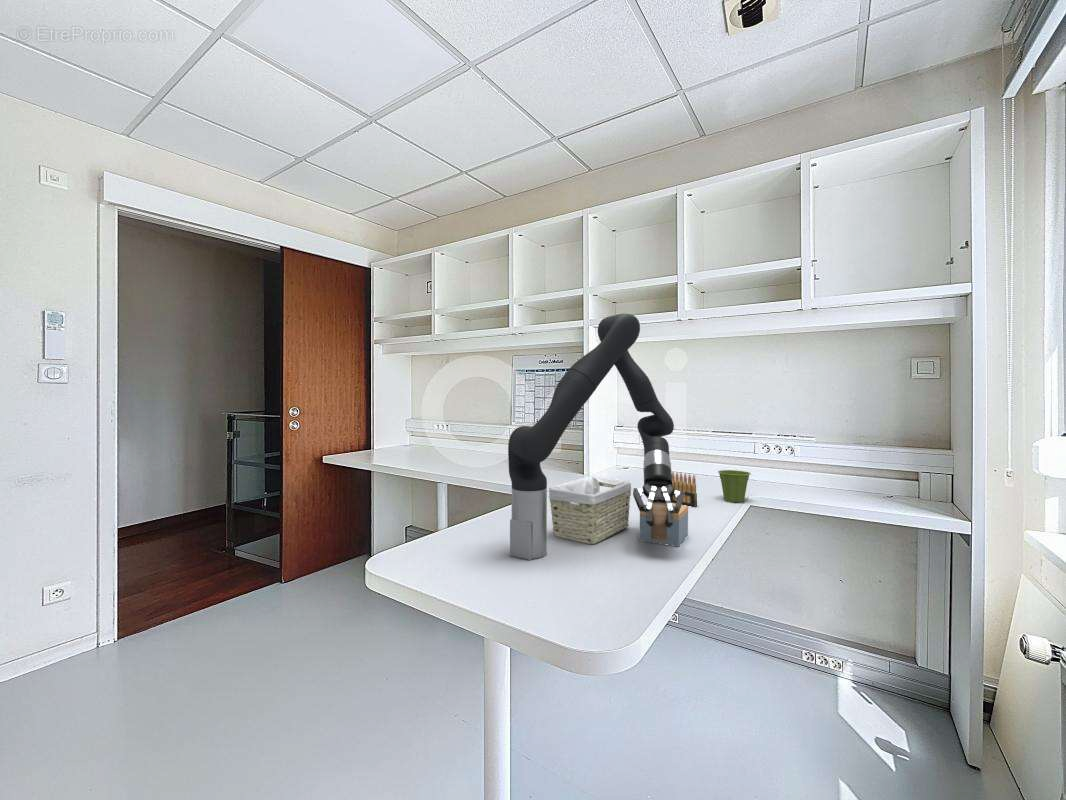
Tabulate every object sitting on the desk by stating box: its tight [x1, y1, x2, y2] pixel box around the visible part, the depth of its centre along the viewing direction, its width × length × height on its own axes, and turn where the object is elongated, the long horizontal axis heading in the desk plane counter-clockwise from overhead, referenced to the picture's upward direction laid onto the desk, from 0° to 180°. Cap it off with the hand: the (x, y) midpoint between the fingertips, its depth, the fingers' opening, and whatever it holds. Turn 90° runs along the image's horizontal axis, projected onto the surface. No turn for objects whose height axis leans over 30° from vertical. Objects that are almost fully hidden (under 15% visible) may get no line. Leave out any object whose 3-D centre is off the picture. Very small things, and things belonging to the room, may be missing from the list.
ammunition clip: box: [670, 471, 698, 508], centre depth 178 cm, size 11×2×12 cm, turn 41°
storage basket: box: [548, 475, 632, 545], centre depth 143 cm, size 24×16×15 cm
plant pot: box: [717, 469, 752, 503], centre depth 184 cm, size 12×12×11 cm
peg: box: [651, 502, 668, 541], centre depth 122 cm, size 4×4×9 cm
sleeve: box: [639, 503, 689, 547], centre depth 136 cm, size 11×11×9 cm
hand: (660, 525), depth 120 cm, fingers closed on peg, 4 cm apart
